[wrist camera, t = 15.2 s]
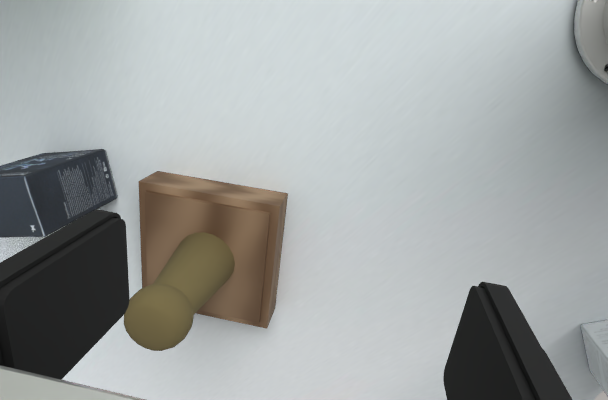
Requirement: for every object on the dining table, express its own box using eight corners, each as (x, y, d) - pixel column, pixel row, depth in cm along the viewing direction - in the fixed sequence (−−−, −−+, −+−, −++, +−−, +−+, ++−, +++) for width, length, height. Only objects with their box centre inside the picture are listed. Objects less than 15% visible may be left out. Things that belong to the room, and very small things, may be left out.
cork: (201, 294, 41) (144, 374, 31) (165, 249, 40) (94, 316, 30) (246, 270, 39) (201, 346, 29) (210, 221, 38) (149, 283, 28)
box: (105, 147, 42) (24, 176, 32) (119, 197, 44) (45, 239, 34) (42, 151, 43) (-56, 180, 34) (57, 200, 45) (-30, 241, 36)
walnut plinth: (287, 193, 40) (278, 207, 37) (274, 308, 45) (266, 330, 42) (157, 171, 42) (136, 182, 38) (159, 284, 47) (140, 304, 43)
